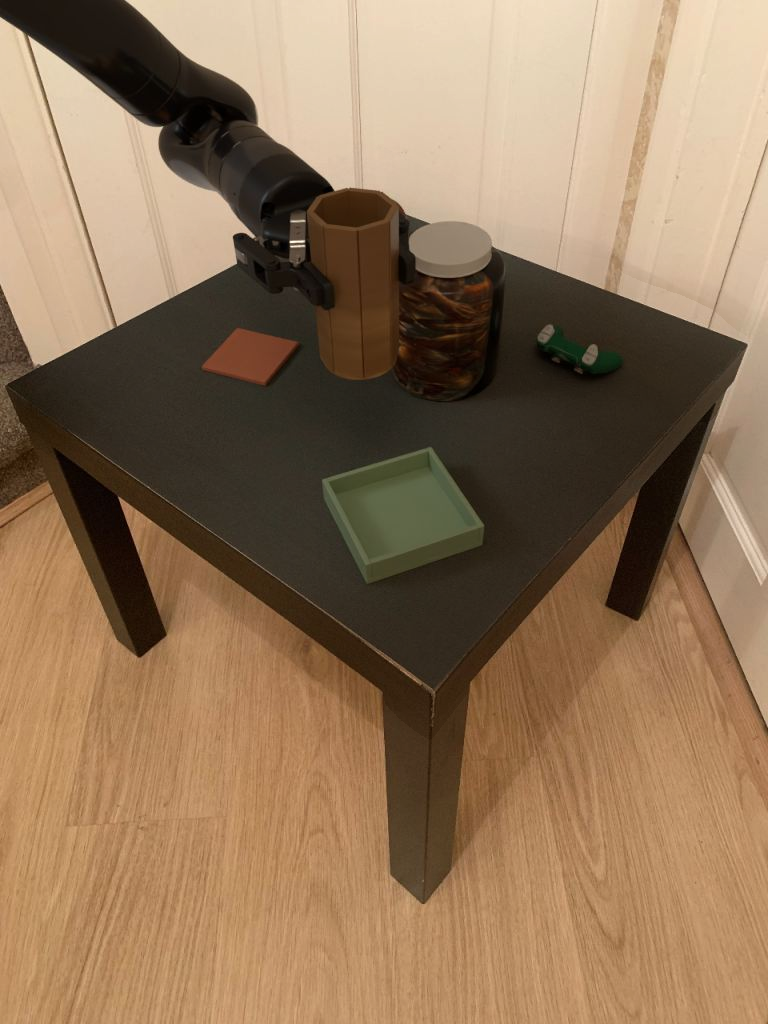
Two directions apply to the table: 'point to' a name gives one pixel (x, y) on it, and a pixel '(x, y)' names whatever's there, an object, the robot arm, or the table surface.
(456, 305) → the jar
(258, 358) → the mat
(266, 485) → the table surface
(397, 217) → the wooden octagonal cup
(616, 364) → the gaming controller
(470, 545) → the tray
